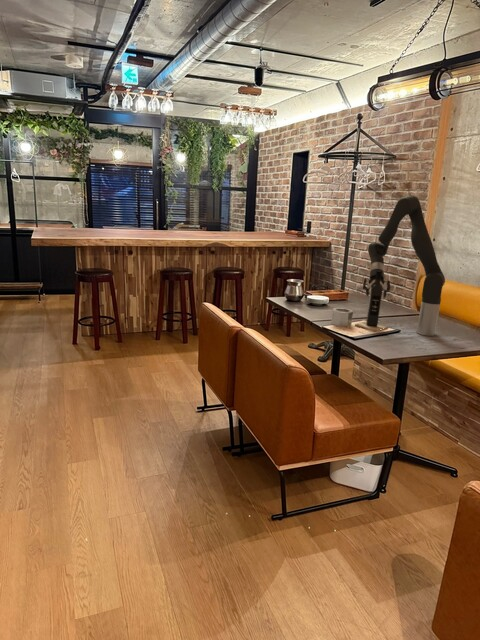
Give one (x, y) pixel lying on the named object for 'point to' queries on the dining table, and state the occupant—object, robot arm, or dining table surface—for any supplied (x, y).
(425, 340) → the dining table surface
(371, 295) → the wine bottle
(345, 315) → the wooden sleeve
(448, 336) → the dining table surface
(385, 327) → the oak board
